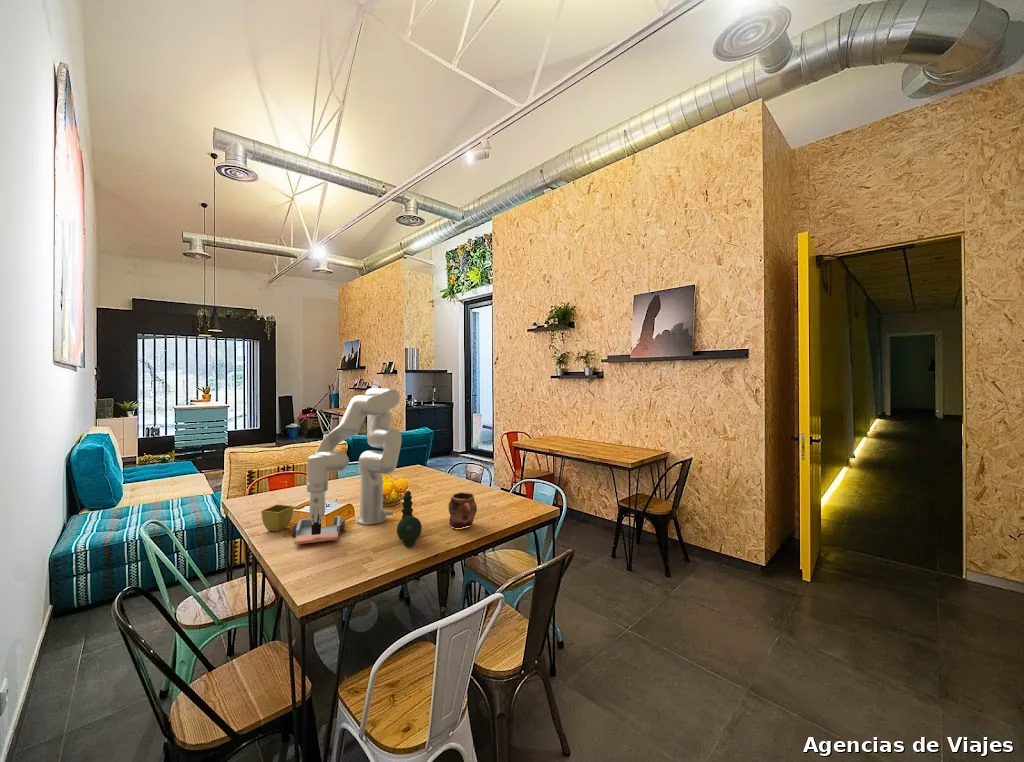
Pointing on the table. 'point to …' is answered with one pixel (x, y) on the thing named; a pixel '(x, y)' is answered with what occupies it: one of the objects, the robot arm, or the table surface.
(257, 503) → the table surface
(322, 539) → the panel
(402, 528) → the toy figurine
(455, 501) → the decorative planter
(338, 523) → the trailer
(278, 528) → the flower pot
